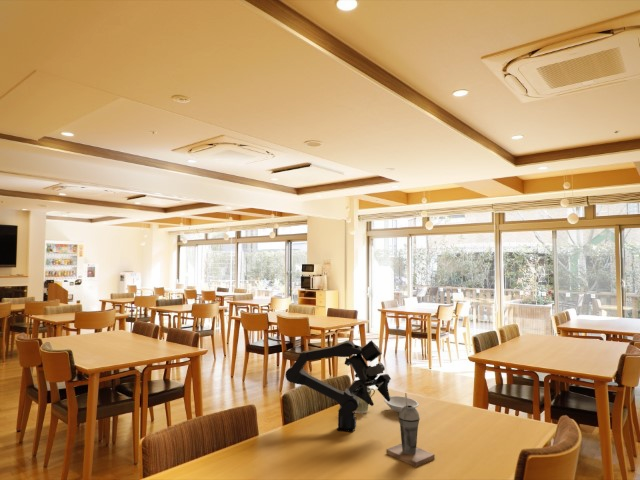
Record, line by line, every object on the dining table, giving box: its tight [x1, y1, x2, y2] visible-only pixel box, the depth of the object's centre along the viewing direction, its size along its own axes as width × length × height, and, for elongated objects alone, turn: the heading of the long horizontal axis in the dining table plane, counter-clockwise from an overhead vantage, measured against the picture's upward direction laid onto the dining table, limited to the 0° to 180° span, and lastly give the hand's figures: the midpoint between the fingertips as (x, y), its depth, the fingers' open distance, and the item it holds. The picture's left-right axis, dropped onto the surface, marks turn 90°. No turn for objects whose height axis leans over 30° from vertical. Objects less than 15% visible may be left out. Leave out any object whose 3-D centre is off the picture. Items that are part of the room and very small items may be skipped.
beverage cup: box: [398, 392, 421, 455], centre depth 150 cm, size 7×7×20 cm
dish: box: [383, 395, 420, 414], centre depth 195 cm, size 18×14×5 cm
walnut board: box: [385, 443, 436, 468], centre depth 149 cm, size 13×10×2 cm
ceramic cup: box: [353, 386, 376, 415], centre depth 197 cm, size 13×10×10 cm
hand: (381, 403), depth 164 cm, fingers open, 9 cm apart
